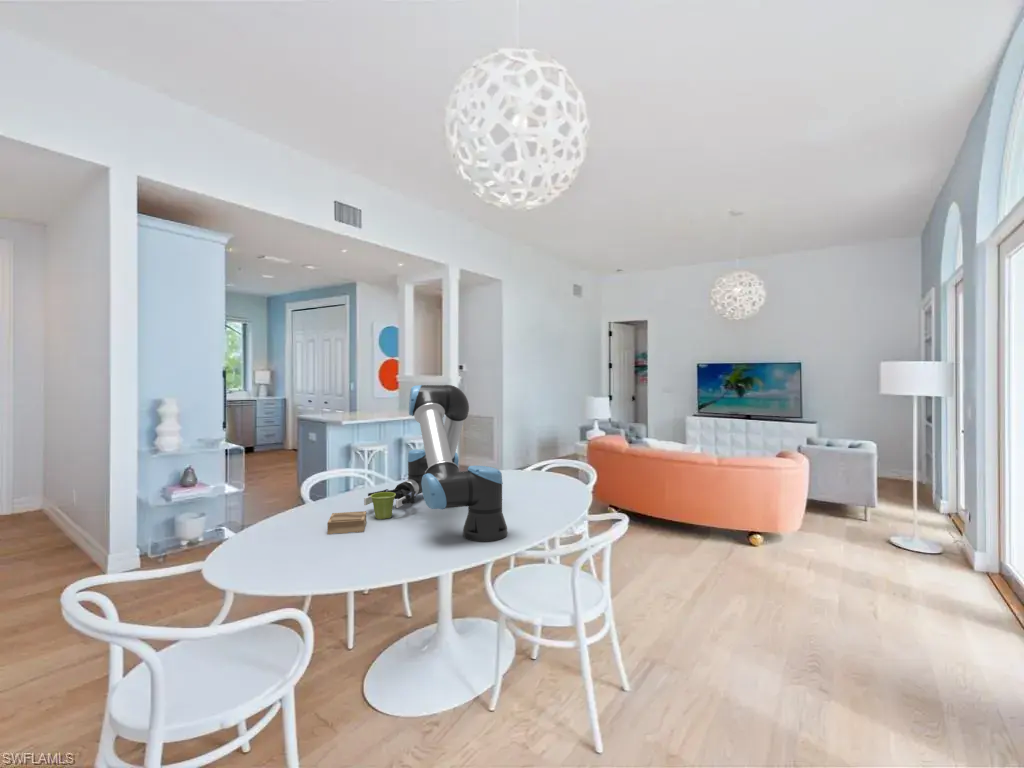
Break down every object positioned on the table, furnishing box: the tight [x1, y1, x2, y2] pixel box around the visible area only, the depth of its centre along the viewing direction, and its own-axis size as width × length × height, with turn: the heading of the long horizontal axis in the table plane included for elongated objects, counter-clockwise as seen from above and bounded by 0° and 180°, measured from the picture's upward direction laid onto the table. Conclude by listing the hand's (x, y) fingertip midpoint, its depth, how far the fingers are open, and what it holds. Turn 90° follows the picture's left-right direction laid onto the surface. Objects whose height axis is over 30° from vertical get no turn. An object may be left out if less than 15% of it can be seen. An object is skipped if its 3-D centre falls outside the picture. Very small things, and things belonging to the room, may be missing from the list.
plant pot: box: [371, 492, 396, 520], centre depth 193 cm, size 9×9×9 cm
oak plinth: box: [326, 510, 367, 535], centre depth 180 cm, size 12×12×4 cm
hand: (380, 503), depth 192 cm, fingers open, 13 cm apart
